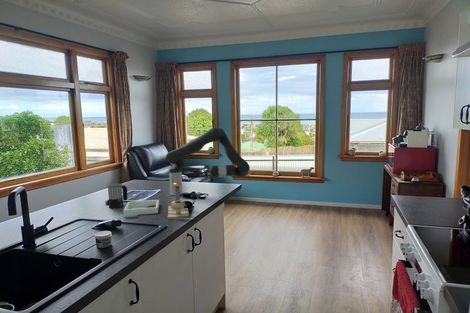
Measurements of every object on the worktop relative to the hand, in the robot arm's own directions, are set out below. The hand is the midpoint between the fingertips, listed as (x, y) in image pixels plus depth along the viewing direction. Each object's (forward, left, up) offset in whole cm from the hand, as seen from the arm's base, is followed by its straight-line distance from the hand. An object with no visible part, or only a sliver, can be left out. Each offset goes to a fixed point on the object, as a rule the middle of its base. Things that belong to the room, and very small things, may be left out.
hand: (193, 173), depth 198 cm
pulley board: (+10, -8, -23) cm, 26 cm away
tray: (+9, -31, -23) cm, 39 cm away
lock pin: (+3, -10, -21) cm, 24 cm away
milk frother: (-4, -56, -23) cm, 61 cm away
